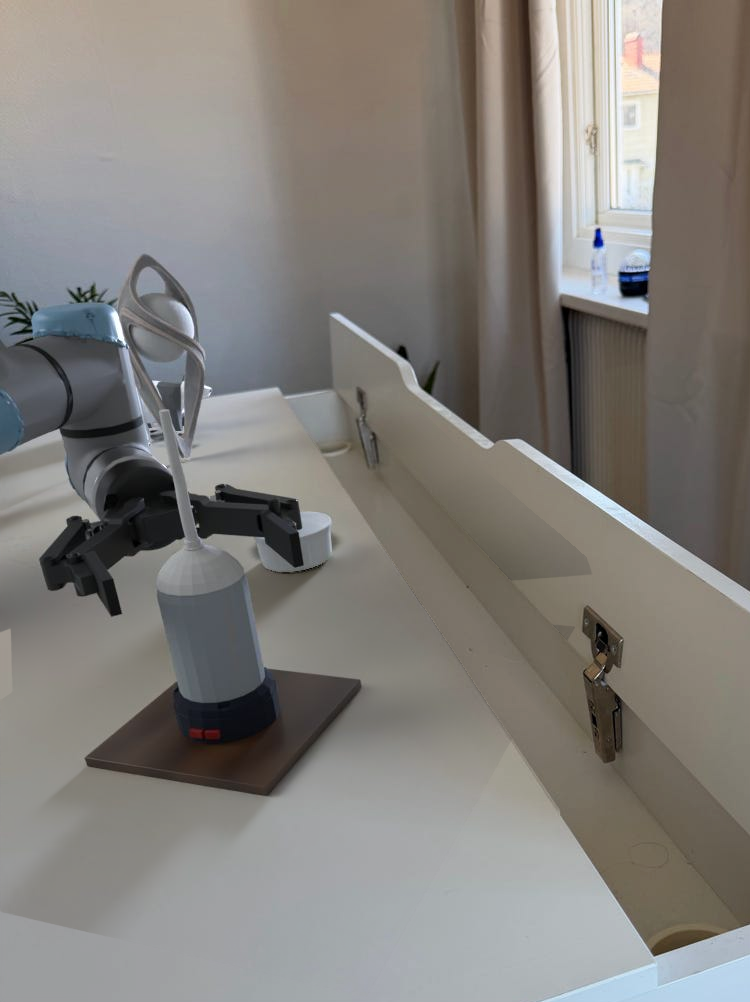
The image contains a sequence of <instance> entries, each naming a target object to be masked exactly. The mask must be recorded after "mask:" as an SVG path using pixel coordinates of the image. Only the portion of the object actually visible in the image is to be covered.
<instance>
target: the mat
mask: <svg viewBox="0 0 750 1002" xmlns="http://www.w3.org/2000/svg"><path fill="white" fill-rule="evenodd" d="M267 669H268V670H269V671H270V672H271V673H272V674H273V679H274V680H275V682H276V688H277V693H278V698H279V704H280V713H279V715H278V717H277V719H276V720H275V721H274V722H273V723H272V724H271V725H270V726H269V727H268V728H266V729H264V730H262V731H261V732H259V733H257V734H255V735H253V736H250V737H247V738H244V739H242V740H238V741H232V742H227V743H212V744H207V743H201V742H196V741H192V740H190V739H189V738H187V737H185V736H184V735H183V734H182V733H181V731H180V730H179V726H178V722H177V718H176V714H175V710H174V699H173V694H174V690H175V688H176V687H177V685H178V683H177V681H175V682H174V683H173V684H171V686H169V687H168V688H166V690H164V691H163V692H162V693H160V694H159V695H158V696H157V697H156V698H155V699H154V700H152V701H151V702H150V703H148V705H146V706H145V707H144V708H142V710H140V711H139V712H138V713H137V714H135V715H134V716H133V717H132V718H130V719H129V720H128V721H127V722H125V723H124V724H123V725H122V726H121V727H120V728H118V729H117V730H116V731H115V732H114V733H113V734H111V735H110V736H108V738H106V739H105V740H104V741H103V742H102V743H100V744H99V745H98V746H97V747H95V749H93V750H92V751H90V752H89V753H88V754H87V755H86V756H84V761H85V765H86V766H87V767H92V768H97V769H102V770H103V769H104V770H110V771H115V772H121V773H128V774H132V775H133V774H135V775H139V776H145V777H152V778H159V779H164V780H169V781H175V782H176V781H177V782H183V783H188V784H195V785H201V786H206V787H213V788H217V789H225V790H230V791H237V792H244V793H249V794H255V795H259V796H260V795H261V796H268V795H269V794H270V793H271V791H272V790H273V789H274V788H275V787H276V786H277V785H278V784H279V782H280V781H281V780H282V779H283V778H284V777H285V776H286V774H287V773H288V772H289V771H290V770H291V769H292V767H294V765H295V764H297V762H298V761H299V760H300V758H302V757H303V755H304V754H305V752H307V751H308V749H309V748H311V746H312V745H313V744H314V742H316V740H317V739H318V738H319V737H320V736H321V735H322V733H323V732H325V730H326V728H328V727H329V725H330V724H331V723H332V722H333V721H334V720H335V719H336V717H337V716H338V715H339V714H340V713H341V711H342V710H344V708H345V707H346V706H347V705H348V704H349V702H350V701H351V700H352V699H353V698H354V696H356V694H357V693H358V692H359V691H360V690H361V689H362V680H361V678H351V677H345V676H343V677H342V676H334V675H327V674H317V673H309V672H300V671H291V670H283V669H274V668H267Z"/></svg>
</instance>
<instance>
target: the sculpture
mask: <svg viewBox="0 0 750 1002" xmlns="http://www.w3.org/2000/svg"><path fill="white" fill-rule="evenodd" d="M146 268H151V269H152V270H154V271H155V272H156V273H157V274H158V275H159V277H160V278H161V280H162V281H163V282H164V288H163V289H164V290H163V292H149V293H148V292H147V293H145V294H142V295H140V296H139V294H138V291H137V285H138V284H137V283H138V280H139V278H140V277H139V276H140V274H141V273H142V271H143V270H145V269H146ZM115 310H116V312H117V314H118V317H119V320H120V324H121V328H122V331H123V335H124V339H125V342H126V343H127V345H128V347H129V351H128V352H129V356H130V361H131V366H132V371H133V376H134V380H135V385H136V388H137V390H138V392H139V394H140V397H141V398H142V400H143V402H144V404H145V405H146V407H147V409H148V410H149V412H150V413H151V415H152V416H153V418H154V419H155V421H156V422H157V423H156V424H157V425H158V427H159V428H160V430H161V431H162V432H163V430H162V425H161V420H160V415H159V411H160V410H162V409H163V410H164V409H166V408H165V406H164V403H163V401H162V399H161V397H160V395H159V393H158V391H157V389H156V388H155V386H154V384H153V382H152V381H153V380H152V378H151V376H150V375H149V373H148V371H147V368H146V367H145V365H144V363H143V361H142V359H141V357H142V358H144V359H146V360H148V361H149V362H154V363H159V364H162V363H163V364H165V363H171V362H174V361H177V360H178V359H180V358H182V357H183V356H184V355H185V354H186V355H185V367H184V375H185V376H184V375H183V376H184V417H185V425H184V433H183V434H181V436H180V434H177V432H176V431H175V429H174V427H173V429H174V434H175V438H176V442H177V446H178V451H179V455H180V458H181V459H182V458H184V457H185V458H188V457H190V458H191V454H192V449H193V444H194V438H195V434H196V429H197V424H198V420H199V414H200V410H201V406H202V402H203V399H202V397H203V392H204V386H206V370H205V366H206V352H205V350H204V349H205V348H203V346H202V345H201V344H200V330H199V320H198V315H197V314H198V313H197V311H196V307H195V304H194V302H193V300H192V298H191V296H190V294H189V293H188V291H187V290H186V288H185V287H184V286H183V284H181V283H180V281H179V280H178V279H176V277H175V276H173V274H172V273H171V272H169V270H167V269H166V268H165V267H164V266H163V264H161V263H160V262H159V261H158V260H156V258H154V257H153V256H152V255H150V254H148V253H141V254H139V256H138V257H137V258H136V259H135V260H134V262H133V264H132V265H131V267H130V269H129V271H128V273H127V275H126V277H125V279H124V281H123V283H122V286H121V288H120V291H119V294H118V298H117V302H116V309H115ZM172 425H173V424H172Z"/></svg>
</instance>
